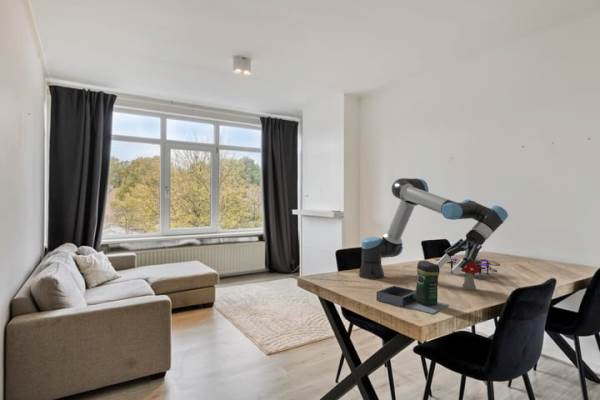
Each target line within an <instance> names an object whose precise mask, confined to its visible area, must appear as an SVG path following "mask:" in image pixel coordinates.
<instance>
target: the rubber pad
mask: <svg viewBox="0 0 600 400" xmlns="http://www.w3.org/2000/svg"><path fill="white" fill-rule="evenodd" d="M449 304H450V303H449ZM449 304H448V303H445V302H444V303H443V302H439V301H437V304H436V305H433V306H430V305H424V304H422V303H420V302H418V301H415V302H413V303H410V304H408V305H406V306H405V307H406V309H411V310H414V311H418V312H423V313H426V314H431V315H434V313H435V314H437V313H438V312H440V311H441V310H443V309H445V308H447V307H449Z"/></svg>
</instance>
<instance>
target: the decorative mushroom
mask: <svg viewBox="0 0 600 400" xmlns="http://www.w3.org/2000/svg"><path fill="white" fill-rule="evenodd" d="M460 272H463V273H465V275H464V281H463V283H462V288H463V289H464V290H467V291H475V290H476V289H477V286H476V284H475V277H474V276H473V273H475V274H479V268H478V267H477V265H476V263H469V264H467V265H466V266H465V267H464V268H463V269H462V270H461V271H460Z"/></svg>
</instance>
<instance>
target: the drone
mask: <svg viewBox="0 0 600 400" xmlns="http://www.w3.org/2000/svg"><path fill="white" fill-rule="evenodd" d="M462 259H463V258H462ZM462 259H460V260H459V259H458V258H452V257H451V258H450V259H449V260H448V261H447V262H446V263H445V264H447V265H450V274H453V271H452V269H453V268H454V265H455V266H456V265H457V264H458V263H459V262H460V261H461V260H462ZM471 259H472V258H471ZM439 260H440V258H435V259H434V261H436V262H438V261H439ZM463 260H464V259H463ZM474 263H476V265H477V267H478V268H479V273H478V274H479V275H478V277H479V278H478V279H479V281H482V271H485V272H486V276H489V271H492V273H494V272H495V273H498V270H497V269H495V268H493V267H492V266H496V267H500V266H501V264H500V263H499V262H497V261H495V260H491V259H490V260H489V259H487V258H479V257H478V256H476V259H475V261H474ZM475 275H476V273H473V277H474V276H475Z"/></svg>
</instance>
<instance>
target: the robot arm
mask: <svg viewBox="0 0 600 400" xmlns="http://www.w3.org/2000/svg"><path fill="white" fill-rule="evenodd" d="M391 194H392V195H393V196H394V197H395V199H398V200H399V203H398V206H397V209H396V212H395V213H394V216H393V218H392V220H391V223H390V225H389V228H388V230H387V231H386V232H385V233H383V236H382V238H381V237H378V236H374V237H373V236H372V237H371V236H369V237H366V238H364V239H362V241H361V265H360V268H359V271H358V276H359V277H360V278H363V279H368V280H369V279H370V280H371V279H372V280H378V279H383V278H385V272H384V268H383V265H382V259H385V258H394V257H397V256H400V255H401V254H402V251H403V248H404V247H403V245H404V244H403V241H402V236H403V234H404V231H405V229H406V227H407V224H408V223H409V221H410V217H411V216H412V213H413V212H414V210H415V209H414V208H415V207H416V206H421V207H423V208H426V209H429V210H431V211H433V212H435V213H439V214H441V215H442V216H443V218H444V219H446V220H452V221H454V220H467V219H470V220H471V219H472V220H474V221H477V223H475V225H474V226H473V227H471V229H470V230H469V231H468V232H467V233H466V234H465V238H466V239H464V240H463V238H460V239H459V240H457V241H456V242H455V243H454V244H452V245H451V246H449V247H448V248H447V249H446V248H445V250H444V251H443V252H444V253H445V254H444V255H443V256H442V257H441V258H439V260H438V261H436V263H435V264H436V265H438V266H439V269H440V268H442V267H444V265H445V264H446V262H449V261H450V260H449V259H450V258H452V256H455V255H456V254H458V253H460V252H465V253H464V256H463V257H462V259H460V260H461V261H460V262H459V263H458V262H457V263H458V264H457V265H455V266H453V267H452V273H454V275H456V276H457V275H458V274H460V272H462V271H461V270H462V269H463V268H464V267H465V266H466V265H467V264H469V263H474V261H475V259H476V257H478V254H479V253H480V251H481V249H482V248H483V246H482V245H483V244H484V243H485V242H486V240H489V238H490V237H491V236H492V235H493V234H494V233H495V232H496V230H497V229H498V228H499V227H500V226H501V225H503V224H504V223H505V221H506V220H507V218H508V217H509V214H508V211H507V210H506V209H505V208H504V207H502V206H501V205H493V206H491V207H488V206H485V205H482V204H481V203H478V202H476V201H475V200H471V199H465V200H463V201H462V202H456V201H453V200H450V199H448V198H446V197H442V196H439V195H437V194H434V193H432V192H429V187H428V183H427V182H426V181H425V180H424V179H421V178H406V177H405V178H403V177H402V178H398V179H396V180H395V181H394V182H393V183H392V184H391ZM471 258H472V259H471ZM463 259H464V260H463Z"/></svg>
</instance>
